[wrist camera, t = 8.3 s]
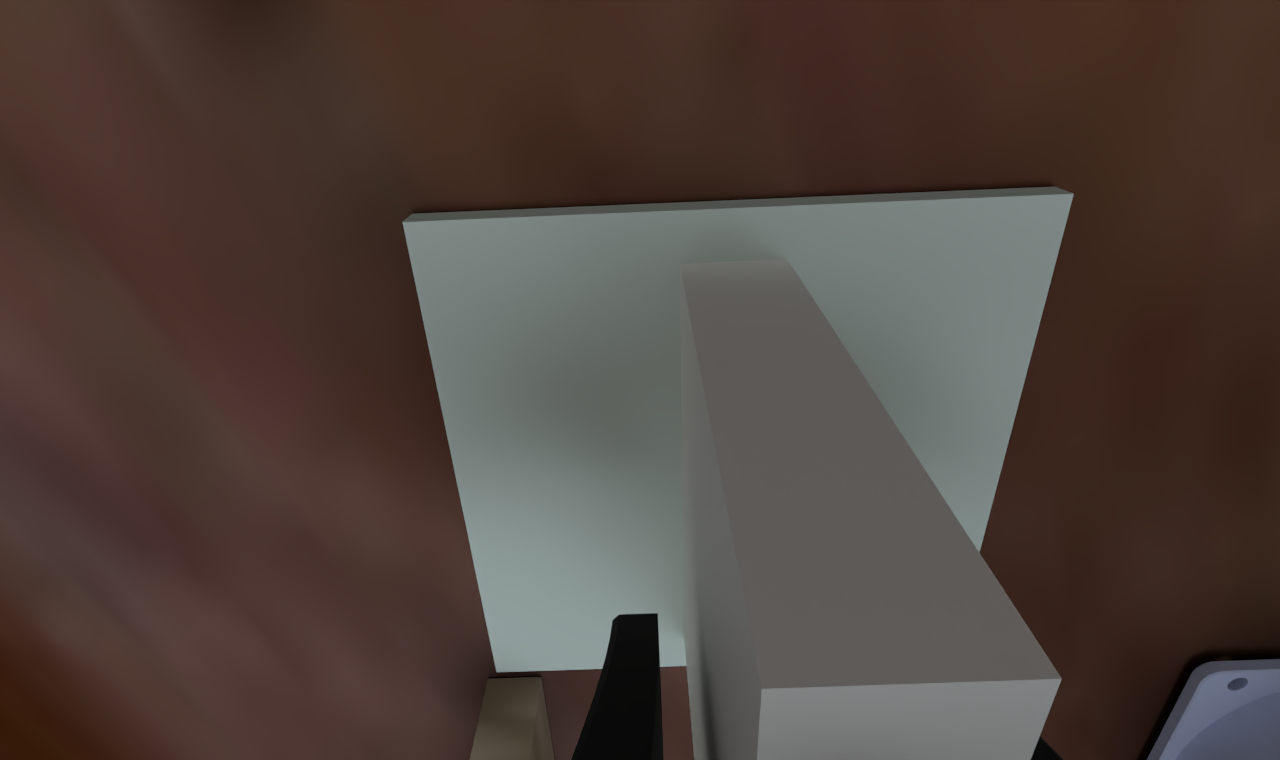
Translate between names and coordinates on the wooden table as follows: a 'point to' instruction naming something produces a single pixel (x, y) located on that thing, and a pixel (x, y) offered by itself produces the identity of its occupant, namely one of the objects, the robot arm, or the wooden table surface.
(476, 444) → the mat
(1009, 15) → the wooden table surface
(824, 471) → the gray rectangular slab
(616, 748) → the robot arm
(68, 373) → the wooden table surface
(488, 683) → the corner fence
